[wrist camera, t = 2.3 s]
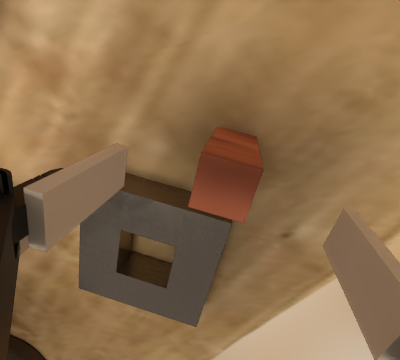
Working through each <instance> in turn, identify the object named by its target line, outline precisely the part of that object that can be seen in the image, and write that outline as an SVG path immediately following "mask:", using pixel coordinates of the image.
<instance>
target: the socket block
mask: <svg viewBox="0 0 400 360" xmlns="http://www.w3.org/2000/svg"><path fill="white" fill-rule="evenodd" d="M191 193H192V192H189V191H185V190H182V189H178V188H175V187H171V186H168V185H165V184H161V183H158V182H154V181H151V180H147V179H144V178H140V177H137V176H134V175H130V174H127V173H125V181H124V187H122V188H121V189H120V190H119V191H118V192H117V193H115V194H114V195H113V196H112V197H111V198H109V199H108V200H107V201H106V202H105V203H104V204H102V205H101V206H100V207H99V208H98V209H97V210H95V211H94V212H93V213H92V214H91V215H89V216H88V217H87V218H86V219H85V220H84V221H82V222H81V223H80V254H79V288H80V289H83V290H86V291H89V292H92V293H95V294H98V295H101V296H104V297H107V298H110V299H113V300H116V301H119V302H122V303H125V304H128V305H131V306H134V307H137V308H140V309H143V310H146V311H149V312H152V313H155V314H158V315H161V316H164V317H167V318H170V319H173V320H176V321H179V322H182V323H185V324H188V325H191V326H195V327H197V324H198V321H199V318H200V315H201V312H202V309H203V306H204V304H205V301H206V298H207V295H208V292H209V289H210V286H211V283H212V280H213V277H214V274H215V272H216V269H217V266H218V263H219V260H220V257H221V254H222V251H223V248H224V245H225V242H226V240H227V237H228V234H229V231H230V228H231V225H232V219H228V218H225V217H221V216H218V215H215V214H211V213H208V212H204V211H201V210H198V209H194V208H191V207H188V205H189V201H190V197H191ZM133 234H136V235H139V236H142V237H146V238H149V239H152V240H155V241H159V242H162V243H165V244H168V245H172V246H175V247H176V251H175V255H174V259H173V263H172V264H171V263H167V262H164V261H161V260H158V259H155V258H151V257H148V256H145V255H142V254H139V253H136V252H132V251H131V245H132V238H133Z"/></svg>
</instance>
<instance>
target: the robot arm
mask: <svg viewBox="0 0 400 360" xmlns="http://www.w3.org/2000/svg"><path fill="white" fill-rule="evenodd" d="M127 152H128V147H127V146H123V145H120V144H114V145H112V146H110V147H108V148H106V149H104V150H102V151H99V152H97V153H95V154H93V155H91V156H89V157H87V158H85V159H83V160H81V161H79V162H76V163H74V164H72V165H70V166H68V167H66V168H59V169H55V170H50V171H48V172H46V173H44V174H42V175H39V176H37V177H35V178H34V179H30V180H28V181H26V182H24V183H22V184H19V185H17V186H15V187H13V182H12V174H11V172H10V171H9V170H7V169H3V168H0V360H44V359H43V357H42V356H41V355H40V354H39V353H38V352H37V351H36V350H35V349H33V348H32V347H31V346H29V345H28V344H26V343H24V342H23V341H21V340H19V339H17V338H14V337H12V336H10V329H11V321H12V313H13V304H14V296H15V288H16V280H17V271H18V263H19V255H20V240H22V239H23V238H25V237H26V236H28V240H29V247H32V248H35V249H38V250H41V251H44V252H47V251H48V250H50V249H51V248H52V247H53V246H54V245H55V244H57V243H58V242H59V241H60V240H61V239H62V238H64V237H65V236H66V235H67V234H68V233H70V232H71V231H72V230H73V229H74V228H75V227H77V226H78V225H79V224H80V223H81V222H82V221H84V220H85V219H86V218H87V217H88V216H89V215H91V214H92V213H93V212H94V211H95V210H97V209H98V208H99V207H100V206H101V205H102V204H104V203H105V202H106V201H107V200H108V199H109V198H111V197H112V196H113V195H114V194H115V193H117V192H118V191H119V190H120V189H121V188H122V187H124V181H125V171H126V162H127ZM323 247H324V250H325V252H326V254H327V256H328V258H329V261H330V263H331V265H332V267H333V269H334V272H335V274H336V276H337V278H338V280H339V283H340V285H341V287H342V289H343V291H344V294H345V296H346V298H347V300H348V302H349V305H350V307H351V309H352V311H353V313H354V316H355V318H356V320H357V322H358V324H359V327H360V329H361V331H362V333H363V335H364V338H365V340H366V342H367V344H368V346H369V349H370V351H371V353H372V355H373V357H374V360H400V263H399V261H398V260H397V259H396V258H395V257H394V256H393V254H392V253H391V252H390V251H389V249H388V248H387V247H386V246H385V245H384V243H383V242H382V241H381V240H380V239H379V237H378V236H377V235H376V234H375V233H374V231H373V230H372V229H371V228H370V227H369V225H368V224H367V223H366V222H365V221H364V219H363V218H362V217H361V216H360V215H359V213H358V212H354V211H351V210H347V209H343V211H342V213H341V215H340V217H339V218H338V220H337V222H336V224H335V225H334V227H333V229H332V231H331V232H330V234H329V236H328V238H327V239H326V241H325V243H324V245H323Z"/></svg>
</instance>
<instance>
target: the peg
mask: <svg viewBox="0 0 400 360" xmlns="http://www.w3.org/2000/svg"><path fill="white" fill-rule="evenodd" d="M262 173H263V166H262V161H261V157H260V152H259V147H258V143H257V138H256V137H255V136H251V135H247V134H244V133H240V132H236V131H232V130H229V129H225V128H221V127H217V128H216V130H215V132H214V133H213V135H212V136H211V138H210V140H209V141H208V143H207V144H206V146H205V148H204V149H203V151H202V152H201V156H200V160H199V164H198V168H197V172H196V176H195V180H194V185H193V189H192V193H191V197H190V201H189V205H188V207H191V208H194V209H198V210H201V211H204V212H208V213H211V214H215V215H218V216H221V217H225V218H228V219H232V220H235V221H238V222H242V223H244V222H245V219H246V216H247V214H248V211H249V208H250V206H251V203H252V200H253V197H254V195H255V192H256V189H257V187H258V184H259V181H260V178H261V176H262Z"/></svg>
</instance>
